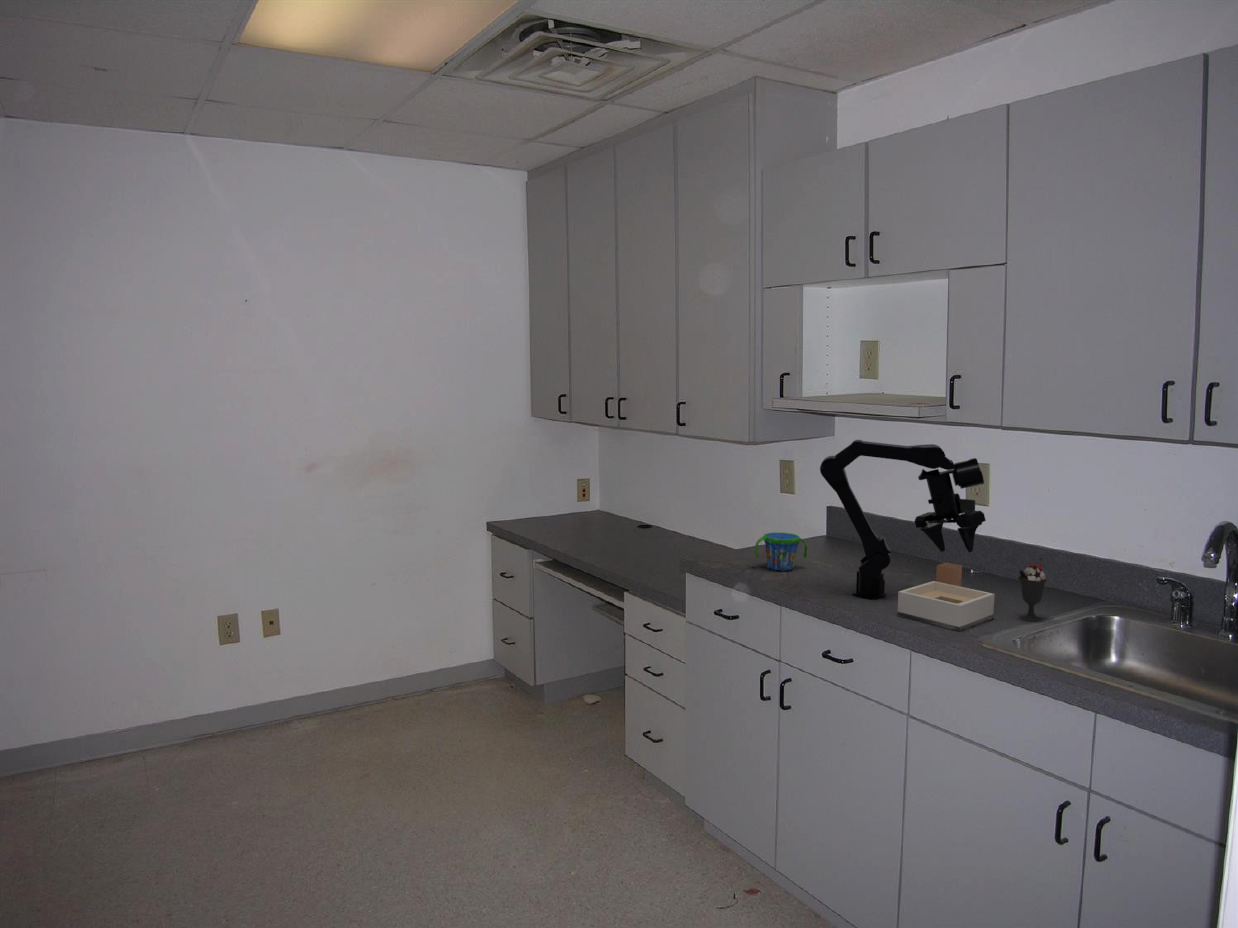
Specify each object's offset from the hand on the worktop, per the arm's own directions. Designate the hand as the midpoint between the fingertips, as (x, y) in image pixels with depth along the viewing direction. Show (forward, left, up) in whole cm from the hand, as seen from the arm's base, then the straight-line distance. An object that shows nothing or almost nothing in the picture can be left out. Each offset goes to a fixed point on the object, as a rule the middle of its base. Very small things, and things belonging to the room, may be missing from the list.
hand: (956, 551), depth 222 cm
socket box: (+5, -14, -13) cm, 20 cm away
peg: (-3, +1, -13) cm, 13 cm away
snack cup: (-52, -7, -13) cm, 54 cm away
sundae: (+20, 0, -13) cm, 24 cm away
